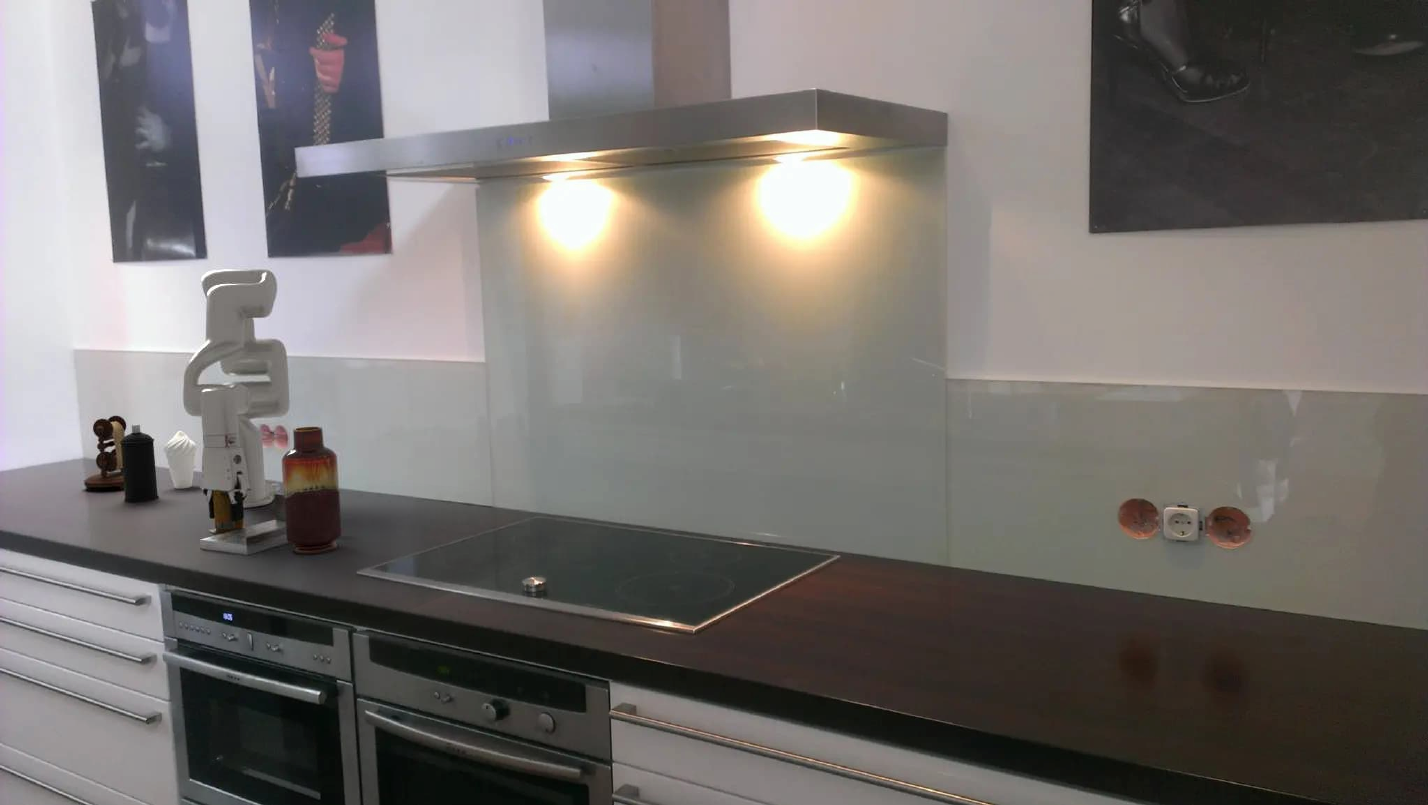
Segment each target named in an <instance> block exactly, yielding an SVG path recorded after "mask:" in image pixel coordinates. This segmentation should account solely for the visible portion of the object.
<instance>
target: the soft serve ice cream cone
mask: <svg viewBox="0 0 1428 805" xmlns="http://www.w3.org/2000/svg"><path fill="white" fill-rule="evenodd" d="M197 447H198V446H197V443H196V442H195V441H193V440H191V439H190V438H189V436H188V435H187V434H186V433H185V432H183V431H182V430H179V431H177V432H176V433H175V434H174V436H173V437H172V438H171V439H170V440H169V441H168V442H166V443H165V445H164V446H163V452H164V453H165V455H166V459H167V465H168V471H169V473H170V477H171V480H172V483H173V486H174V489H178V490H179V489H189V488H191V487H192V485H193V478H194V471H195V468H196V467H195V457H196V451H197V449H198V448H197Z"/></svg>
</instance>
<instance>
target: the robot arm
mask: <svg viewBox="0 0 1428 805" xmlns="http://www.w3.org/2000/svg"><path fill="white" fill-rule="evenodd" d="M201 286H202V287H201V288H202V291H203V294H204V296H205V299H206V306H205V307H206V311H205V312H206V313H205V315H206V316H205V317H206V318H205V343H204V344H203V345H202V346H201V347H200V348H199V349H198V350H197V351H196V352H195V353H194V354H193V356H191V358H190V360H189V361H188V363H187V366H186V368H185V370H184V375H183V388H182V389H183V390H182V394H183V395H182V399H183V400H182V401H183V408H184V410H185V412H186V413H187V414H188V415H190V416H192V417H197V418H199V417H201V428H202V430H201V431H202V438H203V439H202V443H203V448H202V454H201V455H202V456H201V477H202V478H201V480H200V481H199V482H198V486H199V487H200V489H201V490H202V493H203V494H204V496H205V500H206V502H208V511H209V512H208V513H209V514H208V515H209V519H211V520H212V519H215V517H214V500H213V493H214V492H215V490H220V491H224V492H228V494H229V496H230V499H231V502H232V504H230V516H231V521H237V520H241V519H243V520H244V517H245V515H244V513H245V512H244V509H248V508H254V507H255V508H256V507H259V506H265V505H268V504H271V503H272V502H273V500H274V499H273V496H271V495H270V494H271V493H272V492H277V491H279V490H280V489H281V485H280V484H279V482H278V483H277V482H275V483H272V484H269V483H266V476H265V475H266V474H265V462H264V445H263V444H264V443H263V435H262V433H261V431H260V430H259V428H258V427H257V426H256V425H255V424H254V423H253V422H252V421H251V420H254V419H268V418H269V419H271V418H280V417H281V418H282V417H284V416H286V415H287V414H288V412H289V410H290V401H291V400H290V386H289V384H290V383H289V364H288V363H289V362H288V356H287V351H286V350H287V349H286V346H285V344H284V343H283V342H282V340H279V339H276V338H256V337H255V336H256V334H255V321H254V319H256V318H257V319H262V318H264V319H265V318H267V317H269V316H270V315H271V314H272V311H273V308H274V305H275V301H276V299H277V295H278V294H277V293H278V282H277V278H276V276H275V274H274V273H273V272H272V271H270V270H269V269H218V270H211V271H208V272H206V273H205V274H204V275H202V277H201ZM218 362H219V363H220V368H221V372H222V373H223V374H224V375H226V376H230V377H261V376H262V377H263V376H265V377H268V378H269V380H261V381H260V380H257V381H254V380H252V381H251V380H250V381H231V382H227V383H202V384H201V383H200V384H199V380H200V377H201V375H202V373H203V372H204V371H205V370H207V369H208V368H209V367H211V366H212V365H214V364H215V363H218ZM235 487H237V489H235ZM236 492H237V495H236V497H235V494H234V493H236Z"/></svg>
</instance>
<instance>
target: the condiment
mask: <svg viewBox="0 0 1428 805" xmlns="http://www.w3.org/2000/svg"><path fill="white" fill-rule="evenodd" d="M235 489H237V487H235ZM234 494H235V497H236V495H237V492H236V493H234ZM213 500H214V517H215V518H214V527H215V528H213V529H212V528H211V529H208V531H209V532H210V533H212V534H215V535H219V534H223V533H226V532H230V531H234V530H238V529H241V528H245V526H244V524H245V523H244V518H243V519H241V520H237V521H231V516H230V504H232V502H231V499H230V496H229V494H228V492H224V491H220V490H215V492H214V493H213Z"/></svg>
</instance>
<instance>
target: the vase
mask: <svg viewBox="0 0 1428 805" xmlns="http://www.w3.org/2000/svg"><path fill="white" fill-rule="evenodd" d="M292 430H293V431H292V432H293V434H292V435H293V448H292V449H290V450H289V451H287V452H285V454H284V455H283V456H282V459H281V469H282V470H281V472H282V486H283V487H282V488H283V494H284V506H285V521H286V533H287V540H288V541H289V543H291V544H294V546H293V547H292V550H291V551H292V552H293V553H294V554H297V555H318V554H324V553H330V552H332V551H335V550H337V549H338V544H337V543H336V542H335V541H336V540H338V539H339V538H340V537H341V535H342V520H341V518H342V517H341V516H342V515H341V502H340V499H341V498H340V483H339V481H340V480H339V468H338V466H339V464H338V456H337V454H336V453H335V452H334V450H333V449H331V448H329V447H326V446H325V444H324V434H323V433H324V432H323V427H321V426H304V427H296V428H294V429H292Z"/></svg>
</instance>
